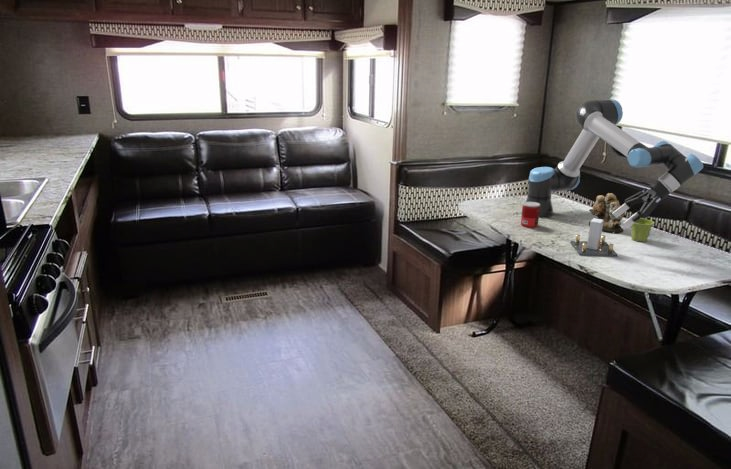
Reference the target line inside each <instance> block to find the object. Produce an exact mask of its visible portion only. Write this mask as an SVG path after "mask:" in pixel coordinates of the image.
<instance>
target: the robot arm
mask: <svg viewBox="0 0 731 469" xmlns="http://www.w3.org/2000/svg"><path fill="white" fill-rule="evenodd" d="M623 114H624V112H623V106H622V105H621V103H620V102H619V101H618V100H617V99H611V98H607V99H590V100H585V101H583V102H582V103H580V104H579V105H578V107H577V108H576V109H575V114H574V116H575V121H576V123H577V124H578V126H579V127H581V128H582V130H581V132H580V134H579V135H578V137H577V139H576V140H575V142H574V144H573V145H572V147H571V148H570V150H569V151H568V153H567V155H566V156H565V158H564V160H562V161H559V163H558V164H557V165H556V167H555V168H553V167H550V166H540V167H535V168H533V169H531V170H530V172H529V176H528V188H527V197H526V200H525V202H536V203H539V204H540V212H539V218H545V217H551V216H553V214H554V209H553V208H554V207H553V203H552V193H556V192H557V193H558V192H567V191H568V192H569V191H571V190H574V189H576V188H577V187H578V185H579V184H580V181H581V179H580V178H581V171H580V169H581V167H582V165H583V164H584V162H585V161H586V159H587V158H588V156H589V154H590V153H591V151H593V149H594V147H595V145H596V144H597V142H598V141H599V139H601V140H603V141H604V142H606V143H607V144H608V145H609V146H611V147H612V148H614V149H615V150H616V151H618V152H620V153H621V154H622V155H623V156H625V157H626V158H627V161H628V164H629V165H630V167H632V168H648V167H655V166H656V167H657V166H664V167H665V168H667V169H668V170H667V171H666V172H665V173H663V174H662V175H661V176H659V177H658V179H657V180H654V181H653V182H652V183H651V184H650V185H649V190H648V188H646V187H645V188H643V189H642V190H640V191H639V192H636V193H635V194H633V195H631V196H629V197H627V198H626V199H624V203H623V204H622V205H620V206H621V207H619V208H618V209H617V210H615V211H614V212H613V213H612V214H613V215H614V216H615V217H616V218H617V217H619V216H620V215H621V214H623V213H624V214H625V212H626V211H628V210H629V209H631V207H633V206H635V205H637V204H641V203H643V204H642V206H641V208H640V209H639V210H637V211H636V212H635V213H633V215H631V216H630V217H628V218H627V219H626V220H625V221H623V222H622V224H623V225H624V226H625V228H627V229H628V228H630V227H632V226H631V225H632V224H634V223H635V222H636V221H638V220H639V219H640V218H641V219H647V218H648V217H649V216H650V215H651V213H653V212H654V210H655V208H656V207H657V206H658V205H659V204H660V203H662V201H663V200H664V199H665V198H666V197H668V196H669V195H670V193H673V192H674V191H676V190H678V189H679V187H681V186H683V184H685V183H686V182H687V181H689V180H690V179H692V178H693V177H694V176H696V174H698V173H699V172H700V171H702V169H704V164H703V162H702V160H700V158H698V157H697V156H696V155H694V154H693V153H690V154H688V155H684V154H683V153H682V152H680V151H679V150H678V149H677V148H676V147H675V146H673V145H672V144H671V143H669V142H668V141H664V140H661V141H659V142H656V143H655V144H654V146H652V147H648V146H647V145H645V144H643V143H642V142H641V141H639V140H638V139H636V138H635V137H633V136H632V135H630V134H629V133H627V132H626V131H624V130H623V129H621V128H620V127H618V126H617V125H618V124H619V123H621V121H622V119H623Z"/></svg>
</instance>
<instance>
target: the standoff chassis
mask: <svg viewBox="0 0 731 469" xmlns="http://www.w3.org/2000/svg"><path fill="white" fill-rule="evenodd" d="M580 238H581V234H576V235H575V240H570V241H569V242H570V245H571V246H572V248H574V250H575V252H576V253H577V254H578V255H579V256H583V257H585V256H589V257H592V256H593V257H613V258H614V257H615V258H616V257H618V253H617V252H616V251H615V250H614V247H615V246H614V243H608V242H607V241H606V235H602V234H601V240H600V246H599V247H598V249H597V250H594V249H589V248H587V243H588V240H586V241H583V240H580Z"/></svg>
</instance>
